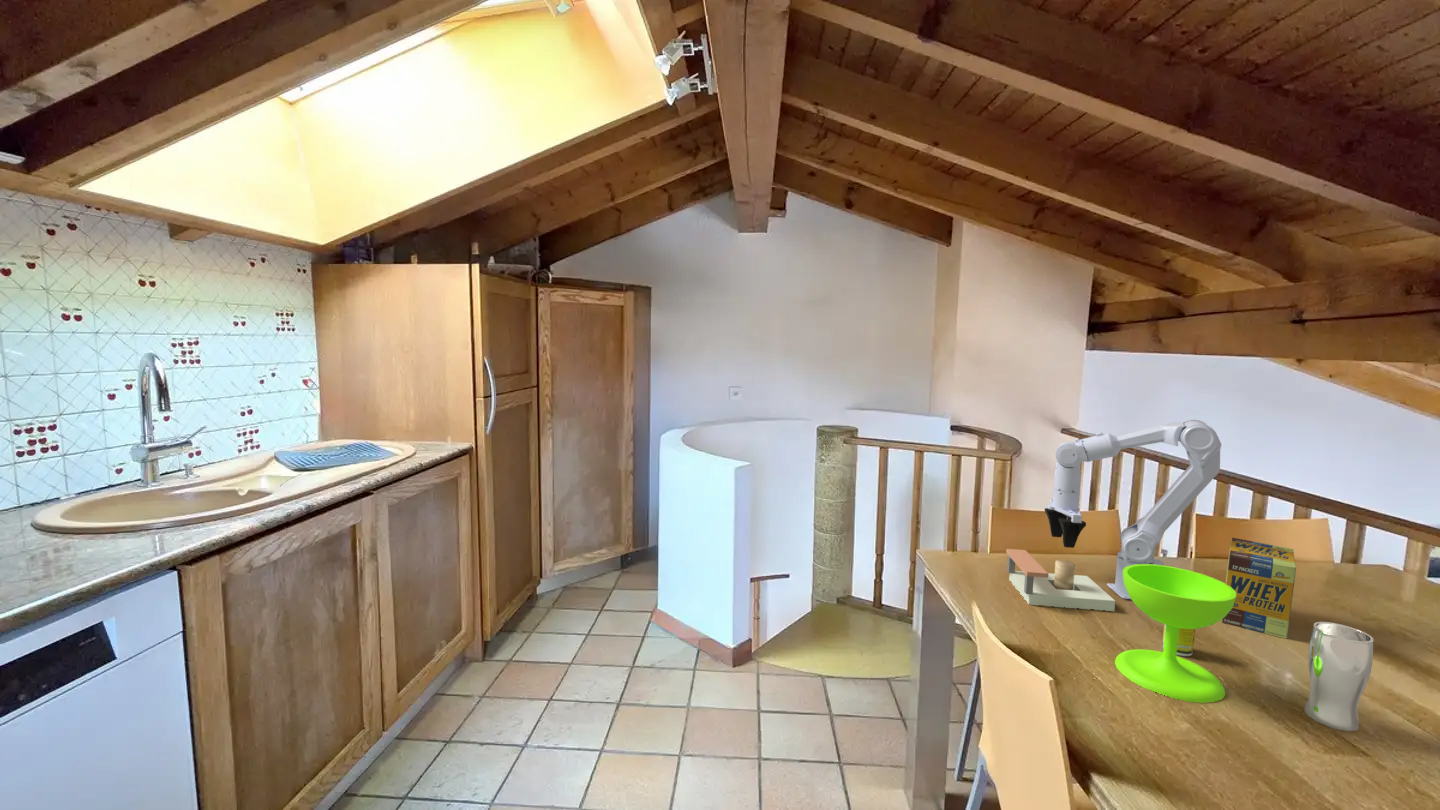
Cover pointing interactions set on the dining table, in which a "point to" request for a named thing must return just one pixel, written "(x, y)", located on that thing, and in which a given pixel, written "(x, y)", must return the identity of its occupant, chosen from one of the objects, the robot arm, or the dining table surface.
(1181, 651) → the supplement bottle
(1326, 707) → the beer glass
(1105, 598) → the socket board
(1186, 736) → the dining table surface
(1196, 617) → the wineglass
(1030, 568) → the pink miniature bench
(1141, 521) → the robot arm
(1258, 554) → the protein box
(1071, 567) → the peg
